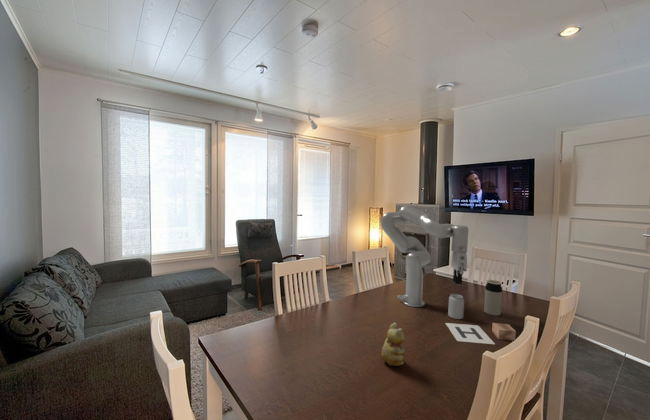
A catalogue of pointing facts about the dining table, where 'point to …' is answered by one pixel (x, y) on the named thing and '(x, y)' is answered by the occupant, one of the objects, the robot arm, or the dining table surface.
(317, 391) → the dining table surface
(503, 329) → the brown block
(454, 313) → the can
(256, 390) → the dining table surface
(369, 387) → the dining table surface
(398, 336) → the decorative figurine
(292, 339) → the dining table surface
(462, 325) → the letter card
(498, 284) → the travel mug
